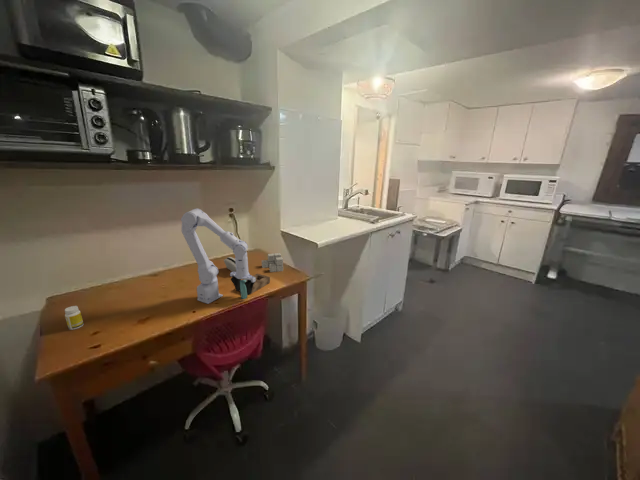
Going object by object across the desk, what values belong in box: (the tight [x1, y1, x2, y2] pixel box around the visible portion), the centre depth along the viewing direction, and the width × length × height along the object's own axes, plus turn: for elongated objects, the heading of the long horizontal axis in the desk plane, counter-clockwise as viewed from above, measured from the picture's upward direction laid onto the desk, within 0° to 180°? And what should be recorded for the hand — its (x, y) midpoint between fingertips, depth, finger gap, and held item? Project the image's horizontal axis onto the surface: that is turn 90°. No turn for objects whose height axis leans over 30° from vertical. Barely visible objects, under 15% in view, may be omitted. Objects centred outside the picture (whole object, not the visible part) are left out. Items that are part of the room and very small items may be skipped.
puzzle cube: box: [261, 252, 284, 273], centre depth 174 cm, size 12×12×8 cm
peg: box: [240, 279, 248, 300], centre depth 137 cm, size 3×3×9 cm
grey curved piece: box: [223, 256, 236, 272], centre depth 168 cm, size 17×5×10 cm, turn 45°
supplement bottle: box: [64, 305, 84, 331], centre depth 112 cm, size 5×5×8 cm
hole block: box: [238, 273, 271, 295], centre depth 149 cm, size 16×9×4 cm, turn 152°
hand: (243, 292), depth 137 cm, fingers open, 7 cm apart
